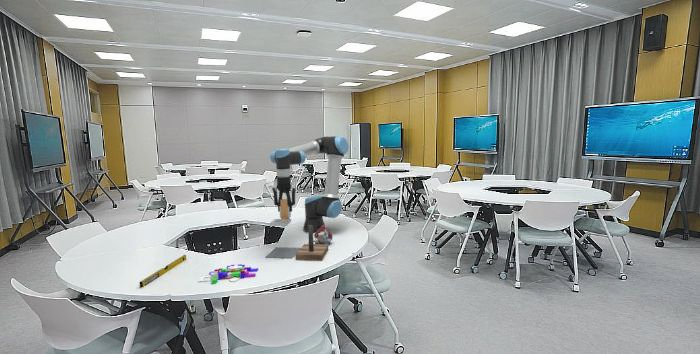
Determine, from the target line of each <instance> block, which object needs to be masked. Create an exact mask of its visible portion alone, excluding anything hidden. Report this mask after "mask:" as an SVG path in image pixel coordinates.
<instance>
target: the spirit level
mask: <svg viewBox="0 0 700 354" xmlns="http://www.w3.org/2000/svg"><path fill="white" fill-rule="evenodd" d="M186 261H187V254H183V255H182V256H179V258H177V259H175V260H173V261H172V262H170V263H168V264H167V265H165V267H164V268H160V269H159V270H157V271H155V272H154V273H153V274H151V275H149V276H147V277H146V278H144V279H141V281H139V288H140V287H143V288H145V287H146V286H148V285H150V284H151V283H152V282H154V281H156V280H157V279H159V278H160V277H162V276H163V275H165V274H166V273H168V272H170V271H172V269H174V268H175V267H177V266H179V265H181V264H182V263H184V262H186ZM144 286H145V287H144Z"/></svg>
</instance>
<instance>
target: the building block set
mask: <svg viewBox="0 0 700 354" xmlns="http://www.w3.org/2000/svg"><path fill="white" fill-rule="evenodd" d="M245 265H246V264H241V263H240V264H236V265H235V264H231V265H226V268H221V267H220V268H216V269H214V271H210V272H209V273H208V274H209V275H205V276H203V275H202V276H200V278H199V279H198V280H197V283H208V282H211V285H216V284H217V282H218V281H219V280H228V281H229V282H230V283H236V282H238V281H240V280H241V279H245V278H255V277H256V273H255V272H258V271H259V268H258V267H256V268H252V267H251V266H245Z"/></svg>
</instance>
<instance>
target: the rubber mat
mask: <svg viewBox="0 0 700 354" xmlns="http://www.w3.org/2000/svg"><path fill="white" fill-rule="evenodd" d="M300 249H301V247H287V246H286V247H284V246H283V247H281V246H280V247H278V246H276V247H275V246H274V248H273V249H272V250H271V251H270V252H268V253H267V255H265V256H264V258H266V259H268V258H270V259H293V258H294V257H296V256H295V254H296V253H297V252H298V251H299V250H300Z"/></svg>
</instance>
